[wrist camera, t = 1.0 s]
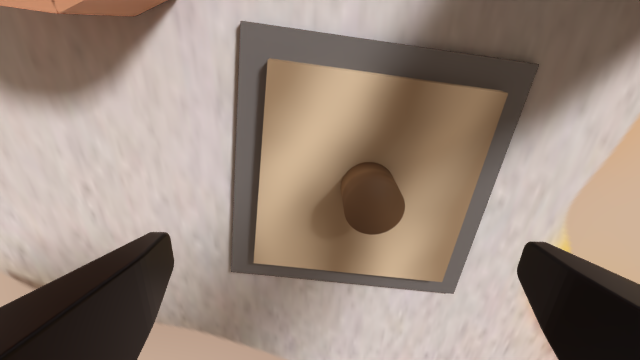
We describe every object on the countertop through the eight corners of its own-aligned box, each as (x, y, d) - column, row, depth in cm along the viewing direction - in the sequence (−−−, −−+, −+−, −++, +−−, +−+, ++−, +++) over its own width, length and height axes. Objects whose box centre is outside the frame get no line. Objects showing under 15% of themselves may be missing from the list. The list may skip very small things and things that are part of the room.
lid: (500, 90, 18) (537, 103, 15) (438, 274, 23) (456, 311, 20) (269, 58, 17) (260, 65, 14) (255, 255, 22) (246, 291, 19)
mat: (534, 63, 18) (538, 64, 18) (451, 289, 24) (453, 293, 24) (242, 21, 17) (240, 21, 17) (232, 267, 23) (231, 271, 23)
